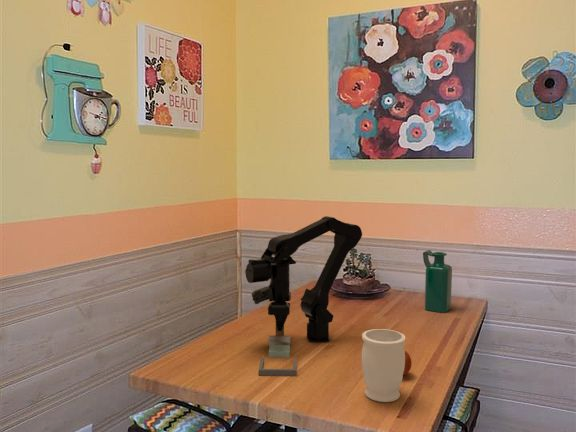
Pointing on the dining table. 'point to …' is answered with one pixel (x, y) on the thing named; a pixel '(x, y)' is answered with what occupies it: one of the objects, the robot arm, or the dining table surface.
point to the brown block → (279, 338)
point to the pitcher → (437, 283)
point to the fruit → (407, 363)
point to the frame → (277, 370)
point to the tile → (279, 350)
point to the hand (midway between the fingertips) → (280, 329)
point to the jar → (383, 363)
